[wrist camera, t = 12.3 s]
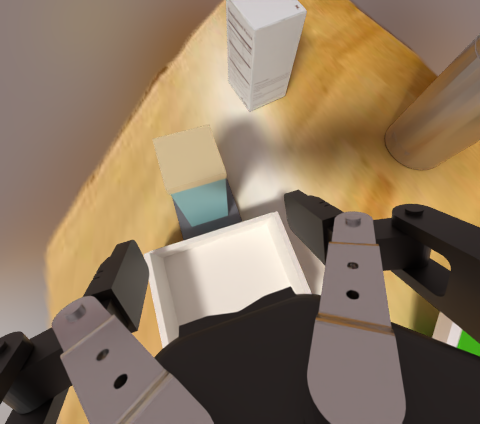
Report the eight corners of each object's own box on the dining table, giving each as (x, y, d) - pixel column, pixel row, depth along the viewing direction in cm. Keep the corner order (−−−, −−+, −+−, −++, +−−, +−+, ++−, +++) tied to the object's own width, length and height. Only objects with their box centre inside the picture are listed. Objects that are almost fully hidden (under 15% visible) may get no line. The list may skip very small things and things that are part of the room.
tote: (268, 220, 31) (275, 206, 26) (308, 320, 27) (325, 327, 22) (158, 255, 29) (142, 248, 24) (184, 369, 25) (171, 390, 20)
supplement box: (263, 68, 40) (276, -25, 28) (285, 97, 38) (310, 10, 26) (226, 82, 39) (224, -9, 27) (248, 113, 37) (255, 29, 25)
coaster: (224, 172, 33) (223, 170, 33) (241, 222, 31) (241, 221, 30) (170, 188, 32) (169, 186, 32) (184, 240, 30) (183, 239, 29)
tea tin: (217, 182, 32) (209, 124, 21) (229, 216, 30) (226, 172, 19) (181, 193, 31) (152, 138, 20) (191, 227, 30) (165, 190, 18)
